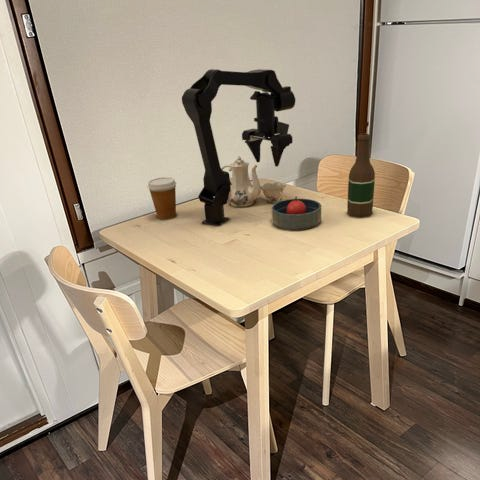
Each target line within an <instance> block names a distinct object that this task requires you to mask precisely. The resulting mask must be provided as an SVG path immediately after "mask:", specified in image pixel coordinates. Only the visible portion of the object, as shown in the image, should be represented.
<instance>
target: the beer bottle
mask: <svg viewBox="0 0 480 480" xmlns="http://www.w3.org/2000/svg"><path fill="white" fill-rule="evenodd" d="M370 139H371V134H370V133H365V132H364V133H360V134H358V135H357V148H356V149H357V150H356V156H355V162H354V164H353V165H352V166H351V168H350V171H349V173H348V180H347V181H348V183H347V204H346V205H347V207H346V208H347V209H346V210H347V211H346V212H347V214H348V215H349V216H350V217H353V218H367V217H369V216H370V215H372V213H373V207H374V198H375V197H374V195H375V194H374V193H375V181H376V172H375V169H374V167H373V165H372V163H371V158H370Z"/></svg>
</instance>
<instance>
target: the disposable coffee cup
mask: <svg viewBox="0 0 480 480" xmlns="http://www.w3.org/2000/svg"><path fill="white" fill-rule="evenodd" d="M176 187H177V182H176V180H175V178H173V177H168V176H167V177H166V176H165V177H163V176H162V177H157V178H156V177H155V178H153V179H150V180H148V182H147V188H148V190H149V193H150V196H151V200H152V203H153V206H154V209H155V213H156V216H157V219H159V220H170V219H173V218H175V217H176V216H177V202H176V201H177V200H176V198H177V197H176Z"/></svg>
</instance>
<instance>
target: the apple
mask: <svg viewBox="0 0 480 480" xmlns="http://www.w3.org/2000/svg"><path fill="white" fill-rule="evenodd" d="M294 199H295V200H294V201H292V202H290V203H289V204H288V206H287V214H305V213H306V206H305V204H304V203H303V202H301V201H299V200H297V199H298V197H297V196H295V198H294Z"/></svg>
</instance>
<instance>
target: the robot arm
mask: <svg viewBox="0 0 480 480" xmlns="http://www.w3.org/2000/svg"><path fill="white" fill-rule="evenodd" d="M221 86H244V87H248V88H250V89H253V90H255V91H254V92H253V93H252V94H251V96H250V97H249V100H251V101H255V108H256V117H254V118H253V122H254V123H256V128H249V129H245V130H243V131H242V133H241V139H242V140H241V141H244V143H245V144H246V145H247V147H248V149H249V150H250V152H251V154H252V156H253V159H254V160H255V162H256V163H260V162H261V145H262V143H263V142H264V141H268V142H270V144H271V145H270V151H271V155H272V159H273V164H274V167H276V168H278V167H279V165H280V162H281V159H282V156H283V153H284V150H285V149H286V148H287V147H289V146H290V145H291V144H293V135H292V134H291V133H288V132H289V128H290V124H289V123H285V122H283V121H282V122H281V121H279V117H278V116H277V115H276V114H275V112H276V113H277V112H282V111H287V110H292V109H293V108H294V107H295V105H296V97H295V94H294V92H293V91H292V87H291V86H289V85H285V86H283V85H282V84H281V83H280V81H279V79H278V76H277V73H276V71H275V70H273V69H259V68H258V69H253V70H249V71H231V70H220V69H215V68H214V69H213V68H211V69H208V70H206V71H205V73H204V74H202V76H201V77H199V79H198V80H197V81H195V82H194V83H193V84H191V86H190V87H189V88H187V89H185V91H184V92H183V94H182V95H181V104H182V106H183V108H184V110H185V113H186V115H187V117H188V118H189V119H190V121H191V123H192V124H193V128H194V132H195V135H196V139H197V143H198V146H199V150H200V151H199V152H200V155H201V159H202V163H203V167H204V174H203V178H202V179H203V188H202V189H201V191H200V192H199V194H198V196H197V197H198V200H199V202H200V203H204V205H203V207H204V217H205V219H204V220H202V221H201V223H202V224H204V225H212V226H220V225H222V224H224V223H225V222H226V221H228V220H229V216H226V215H225V207H224V206H225V205H227V204H228V202H229V201H228V196H229V192H230V191H231V186H230V185H232V184H231V182H230V178H231V177H230V173H229V171H226V170H223V171H222V169H221V168H222V167H221V164H220V159H219V155H218V151H217V145H216V141H215V138H214V132H213V128H212V123H211V117H212V112H213V107H212V102H213V100H214V99H215V98H216V96H218V95H217V94H218V92H219V90H220V87H221ZM260 91H262V92H260ZM263 140H264V141H263Z"/></svg>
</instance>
